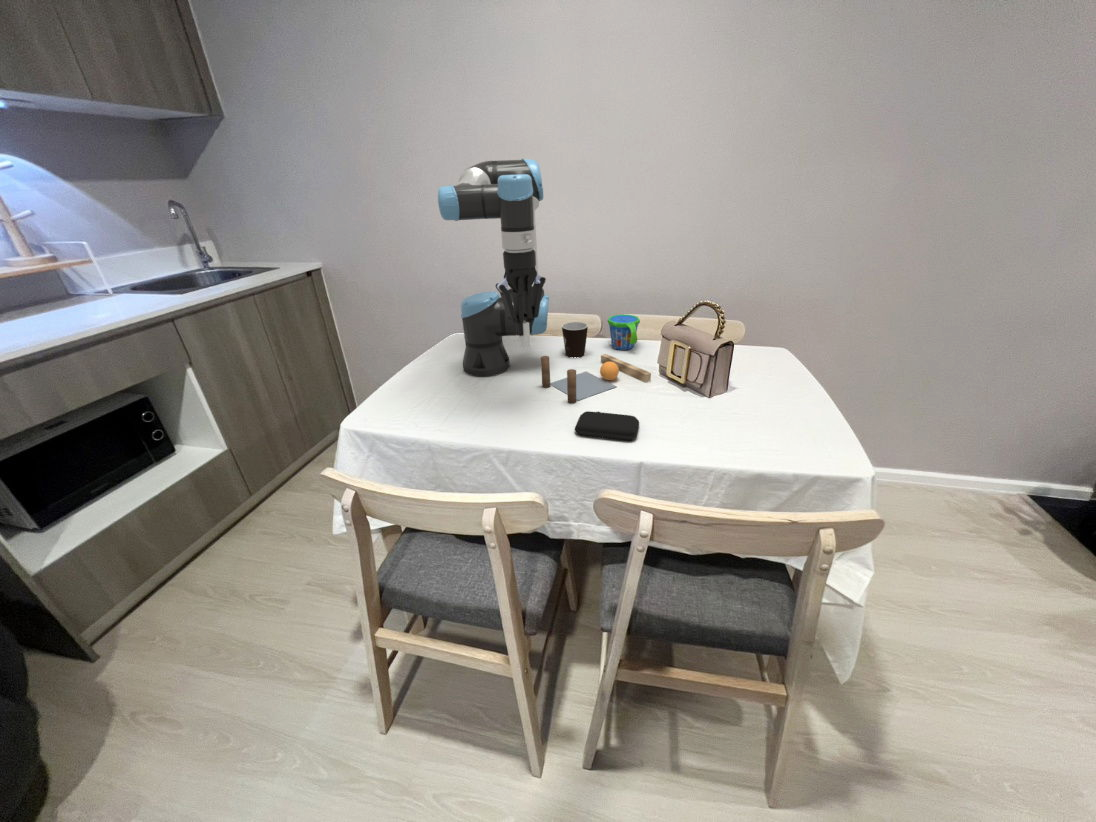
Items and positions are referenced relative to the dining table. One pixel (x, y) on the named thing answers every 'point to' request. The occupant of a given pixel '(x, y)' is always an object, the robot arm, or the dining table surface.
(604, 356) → the stopper wall
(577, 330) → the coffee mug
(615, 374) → the ball
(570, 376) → the right post
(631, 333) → the snack cup
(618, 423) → the carrying case or bag
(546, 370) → the left post
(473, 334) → the robot arm
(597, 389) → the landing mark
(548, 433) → the dining table surface
